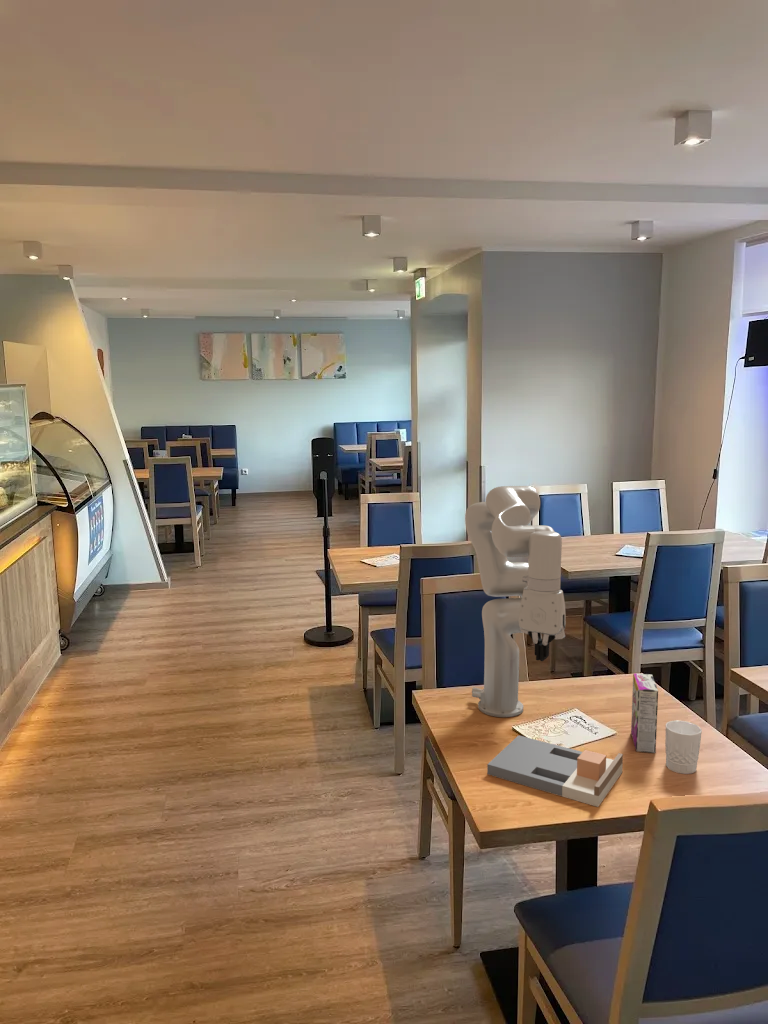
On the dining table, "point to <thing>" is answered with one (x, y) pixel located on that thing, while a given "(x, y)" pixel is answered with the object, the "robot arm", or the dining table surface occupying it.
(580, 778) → the board
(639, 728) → the candy bar box
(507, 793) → the dining table surface
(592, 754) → the block
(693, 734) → the white cup
